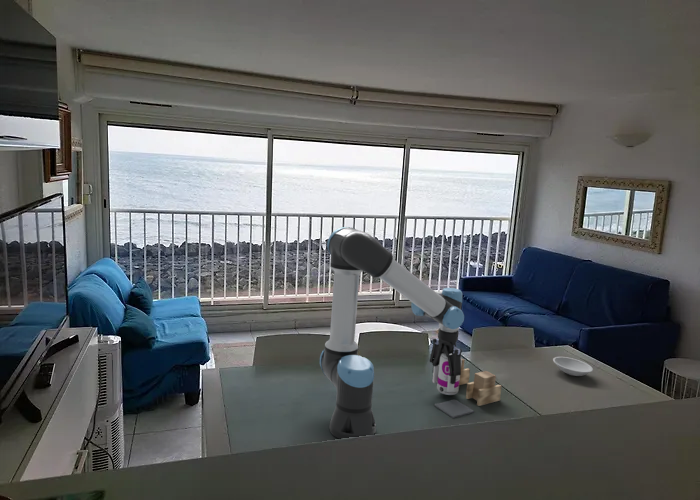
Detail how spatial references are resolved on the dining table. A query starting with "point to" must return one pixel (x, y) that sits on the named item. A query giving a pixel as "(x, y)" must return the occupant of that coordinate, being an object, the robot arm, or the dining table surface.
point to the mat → (454, 408)
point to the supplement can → (446, 376)
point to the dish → (572, 366)
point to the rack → (480, 386)
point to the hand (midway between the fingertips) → (442, 386)
